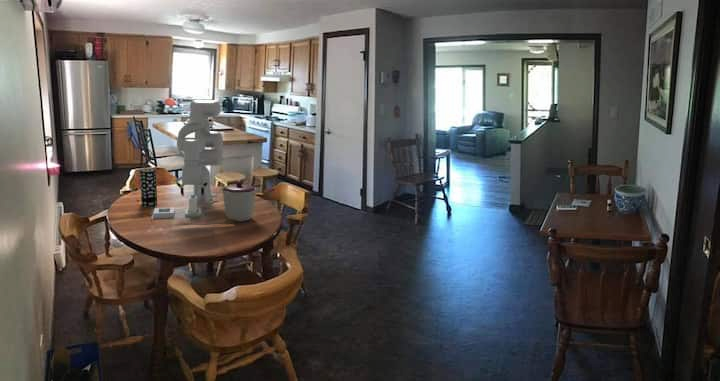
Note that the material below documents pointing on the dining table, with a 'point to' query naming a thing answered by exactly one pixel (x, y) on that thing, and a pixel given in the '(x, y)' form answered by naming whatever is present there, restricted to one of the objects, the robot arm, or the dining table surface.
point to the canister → (239, 201)
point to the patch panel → (175, 213)
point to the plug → (192, 204)
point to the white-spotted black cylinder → (148, 187)
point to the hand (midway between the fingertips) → (192, 195)
